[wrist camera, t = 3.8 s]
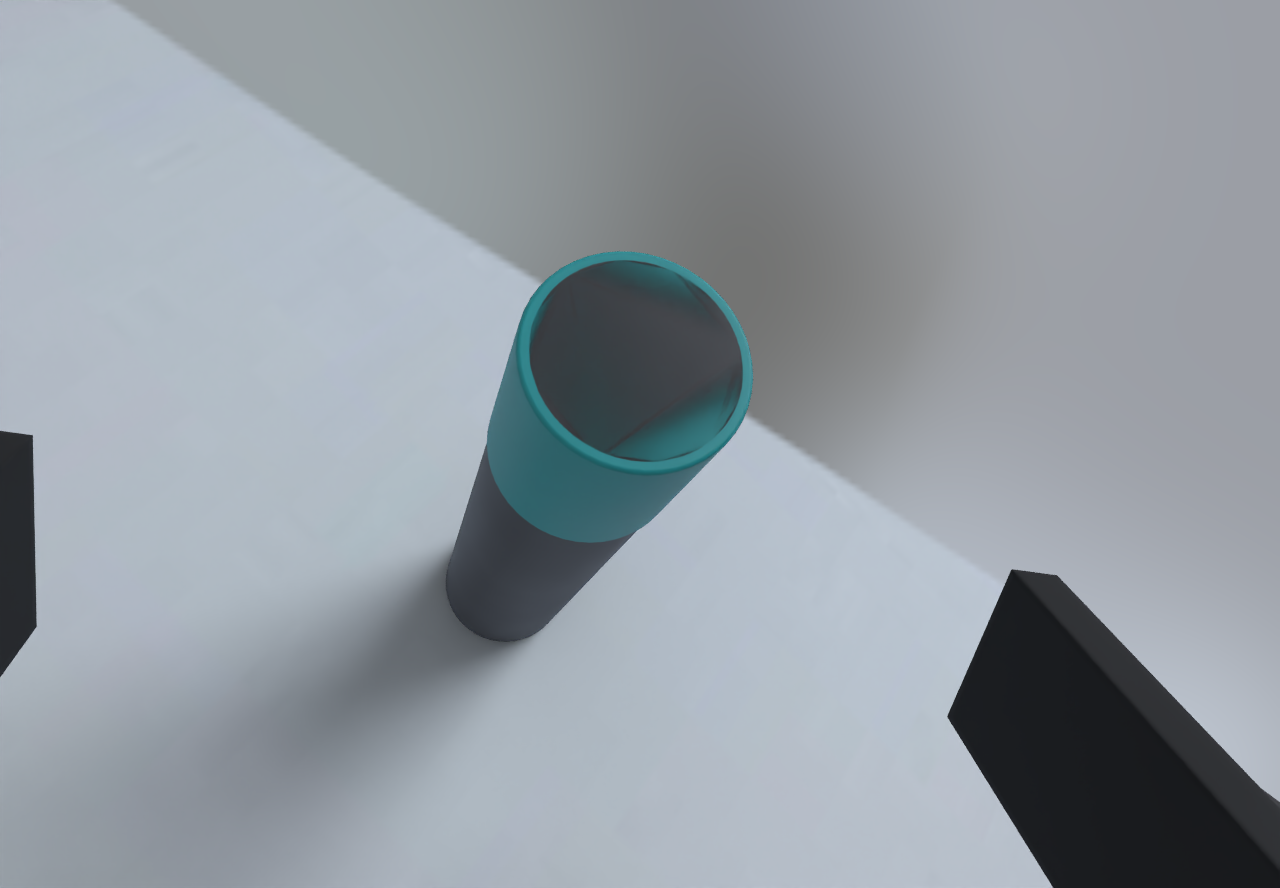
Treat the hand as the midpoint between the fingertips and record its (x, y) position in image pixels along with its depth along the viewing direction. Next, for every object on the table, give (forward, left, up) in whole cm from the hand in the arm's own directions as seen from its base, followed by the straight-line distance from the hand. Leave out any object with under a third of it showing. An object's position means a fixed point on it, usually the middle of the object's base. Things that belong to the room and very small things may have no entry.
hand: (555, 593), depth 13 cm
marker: (0, -2, -8) cm, 9 cm away
